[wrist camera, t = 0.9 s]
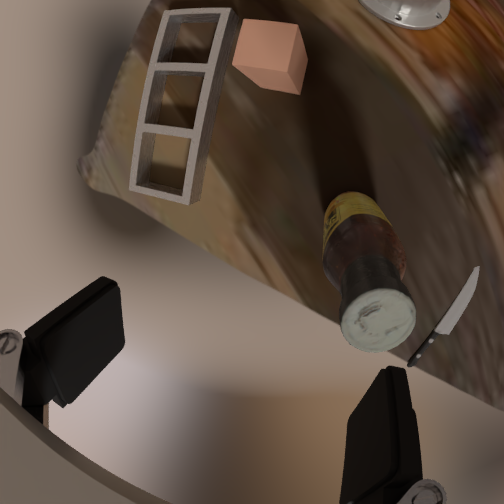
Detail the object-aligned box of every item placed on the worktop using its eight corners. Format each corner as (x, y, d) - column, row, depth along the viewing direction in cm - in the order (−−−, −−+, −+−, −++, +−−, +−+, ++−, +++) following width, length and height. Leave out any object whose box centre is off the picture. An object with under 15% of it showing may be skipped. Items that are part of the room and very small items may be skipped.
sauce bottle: (321, 192, 31) (309, 257, 13) (377, 187, 29) (442, 245, 11) (327, 249, 33) (318, 369, 15) (380, 244, 31) (428, 359, 13)
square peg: (268, 53, 27) (243, 18, 18) (308, 59, 26) (298, 24, 17) (260, 87, 28) (232, 64, 19) (300, 94, 28) (287, 72, 19)
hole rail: (176, 18, 27) (164, 10, 24) (239, 17, 26) (231, 7, 23) (142, 186, 36) (128, 190, 33) (199, 200, 35) (188, 205, 32)
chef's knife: (495, 260, 28) (482, 250, 28) (499, 263, 27) (486, 253, 27) (418, 368, 35) (404, 363, 36) (420, 373, 34) (406, 368, 35)
